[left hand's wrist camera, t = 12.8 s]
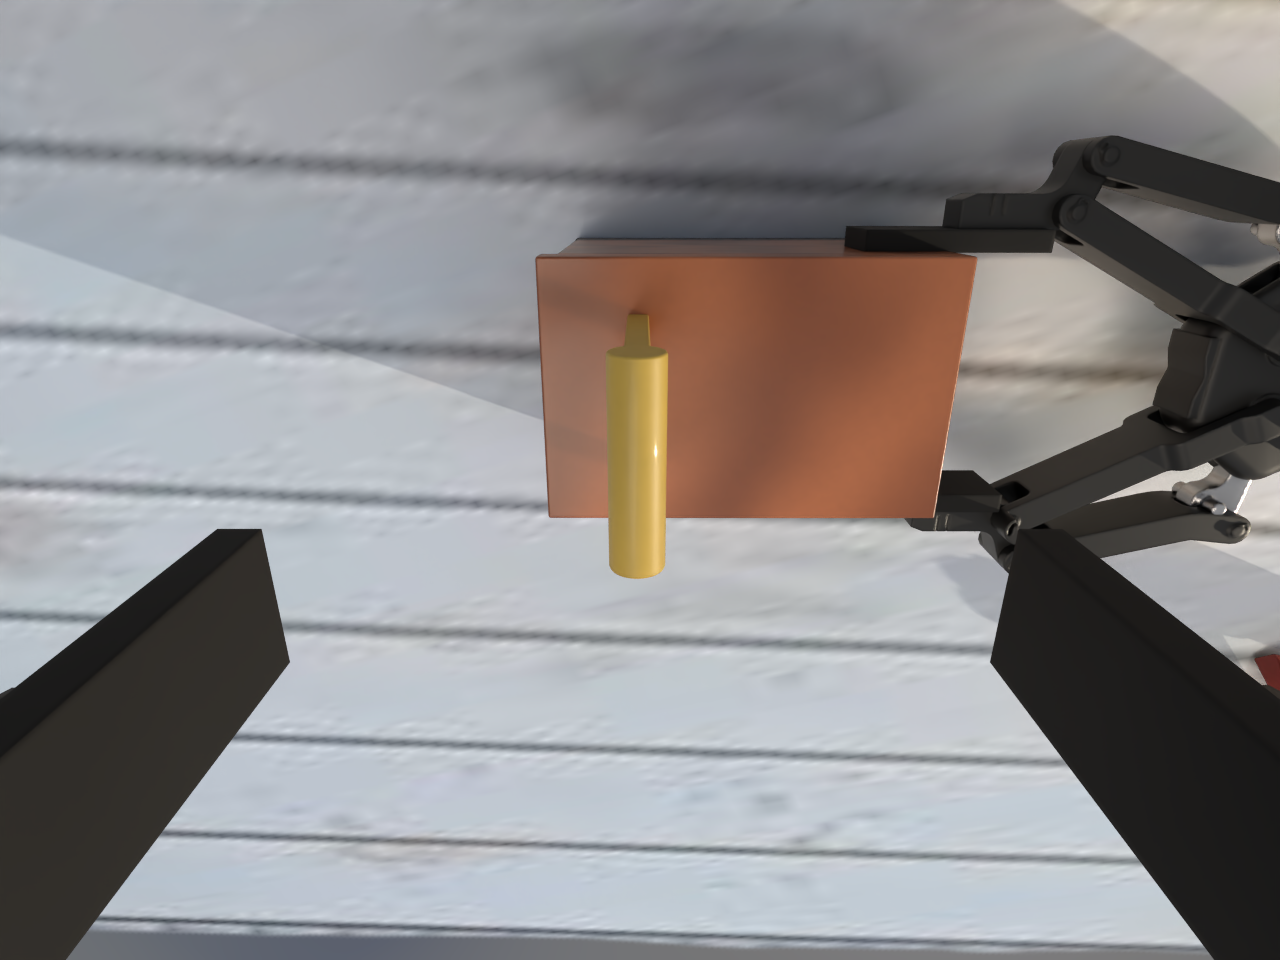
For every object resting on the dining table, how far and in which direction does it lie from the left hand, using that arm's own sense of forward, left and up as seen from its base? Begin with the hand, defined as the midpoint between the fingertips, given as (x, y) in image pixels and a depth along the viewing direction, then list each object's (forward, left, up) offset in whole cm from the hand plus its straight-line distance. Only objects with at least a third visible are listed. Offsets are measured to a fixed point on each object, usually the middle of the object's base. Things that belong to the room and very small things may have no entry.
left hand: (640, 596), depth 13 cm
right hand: (-2, +7, -16) cm, 18 cm away
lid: (-1, +4, -14) cm, 15 cm away
